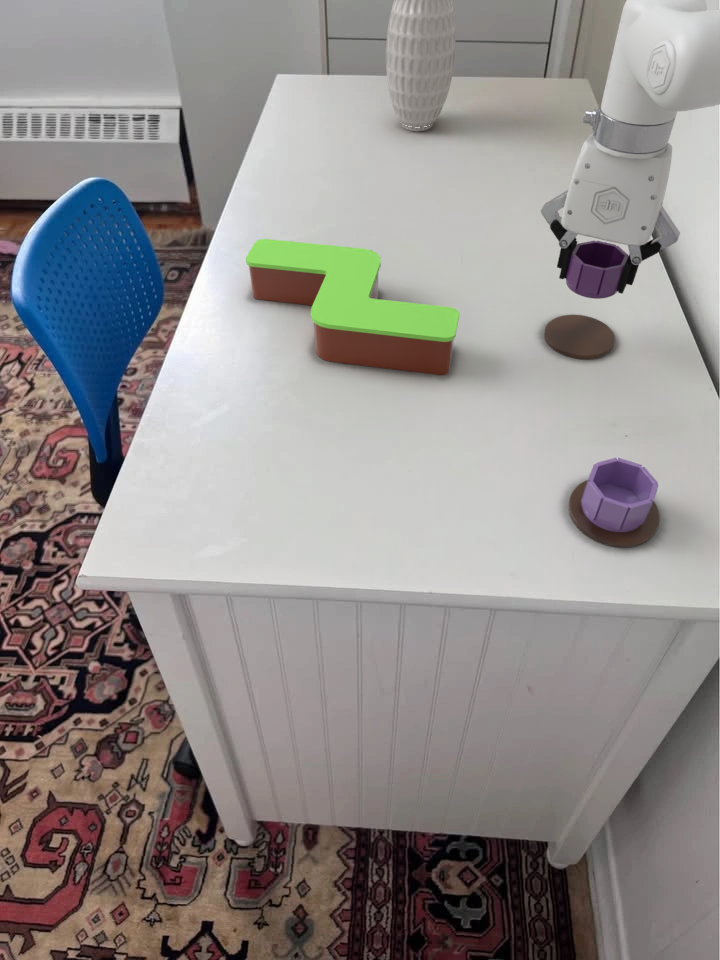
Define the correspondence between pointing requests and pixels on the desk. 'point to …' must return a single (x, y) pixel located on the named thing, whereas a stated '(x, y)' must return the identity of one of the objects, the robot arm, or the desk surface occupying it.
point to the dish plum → (595, 269)
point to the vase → (420, 59)
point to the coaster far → (579, 336)
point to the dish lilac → (618, 495)
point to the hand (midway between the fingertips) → (593, 279)
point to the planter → (353, 307)
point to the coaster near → (609, 537)
